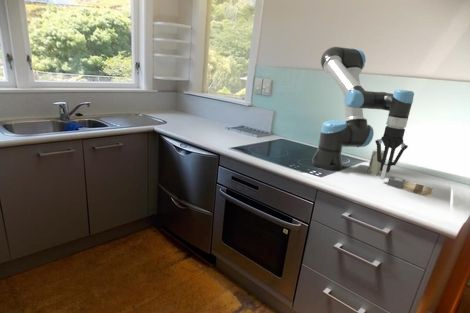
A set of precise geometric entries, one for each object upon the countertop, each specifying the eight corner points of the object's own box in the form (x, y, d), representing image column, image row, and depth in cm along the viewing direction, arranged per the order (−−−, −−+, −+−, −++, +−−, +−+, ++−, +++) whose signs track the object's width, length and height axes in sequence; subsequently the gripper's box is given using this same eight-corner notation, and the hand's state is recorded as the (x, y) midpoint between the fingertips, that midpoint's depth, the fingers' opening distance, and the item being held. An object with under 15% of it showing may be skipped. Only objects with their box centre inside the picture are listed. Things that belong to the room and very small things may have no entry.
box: (369, 172, 146) (375, 148, 142) (378, 175, 143) (385, 150, 139) (366, 175, 142) (372, 150, 138) (375, 177, 139) (382, 152, 135)
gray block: (387, 185, 128) (388, 178, 127) (389, 182, 132) (390, 175, 131) (402, 189, 124) (404, 182, 123) (403, 186, 128) (405, 179, 127)
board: (385, 187, 128) (385, 184, 128) (390, 179, 139) (391, 177, 138) (429, 200, 119) (430, 197, 118) (432, 190, 129) (432, 188, 129)
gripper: (377, 125, 124) (365, 176, 131) (411, 130, 117) (397, 184, 124) (381, 123, 130) (369, 172, 137) (414, 128, 123) (400, 180, 130)
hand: (382, 178), depth 130 cm, fingers closed
